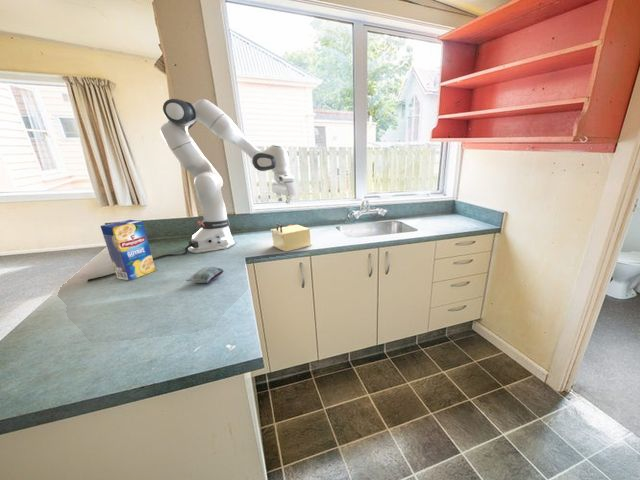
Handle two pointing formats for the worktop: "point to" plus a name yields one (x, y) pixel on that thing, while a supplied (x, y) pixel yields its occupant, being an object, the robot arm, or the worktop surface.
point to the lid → (288, 229)
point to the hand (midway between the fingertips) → (284, 202)
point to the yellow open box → (291, 240)
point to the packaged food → (206, 275)
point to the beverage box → (128, 249)
